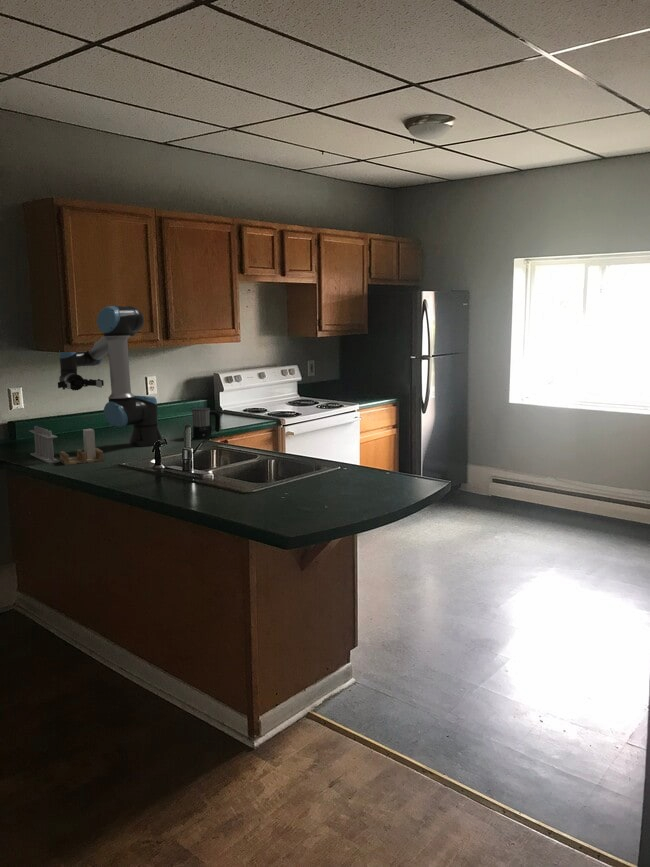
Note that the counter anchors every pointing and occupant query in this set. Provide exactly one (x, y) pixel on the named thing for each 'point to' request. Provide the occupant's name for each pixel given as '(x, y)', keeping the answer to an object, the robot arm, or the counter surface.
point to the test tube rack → (44, 445)
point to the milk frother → (204, 422)
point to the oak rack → (80, 457)
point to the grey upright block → (89, 443)
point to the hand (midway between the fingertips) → (85, 385)
